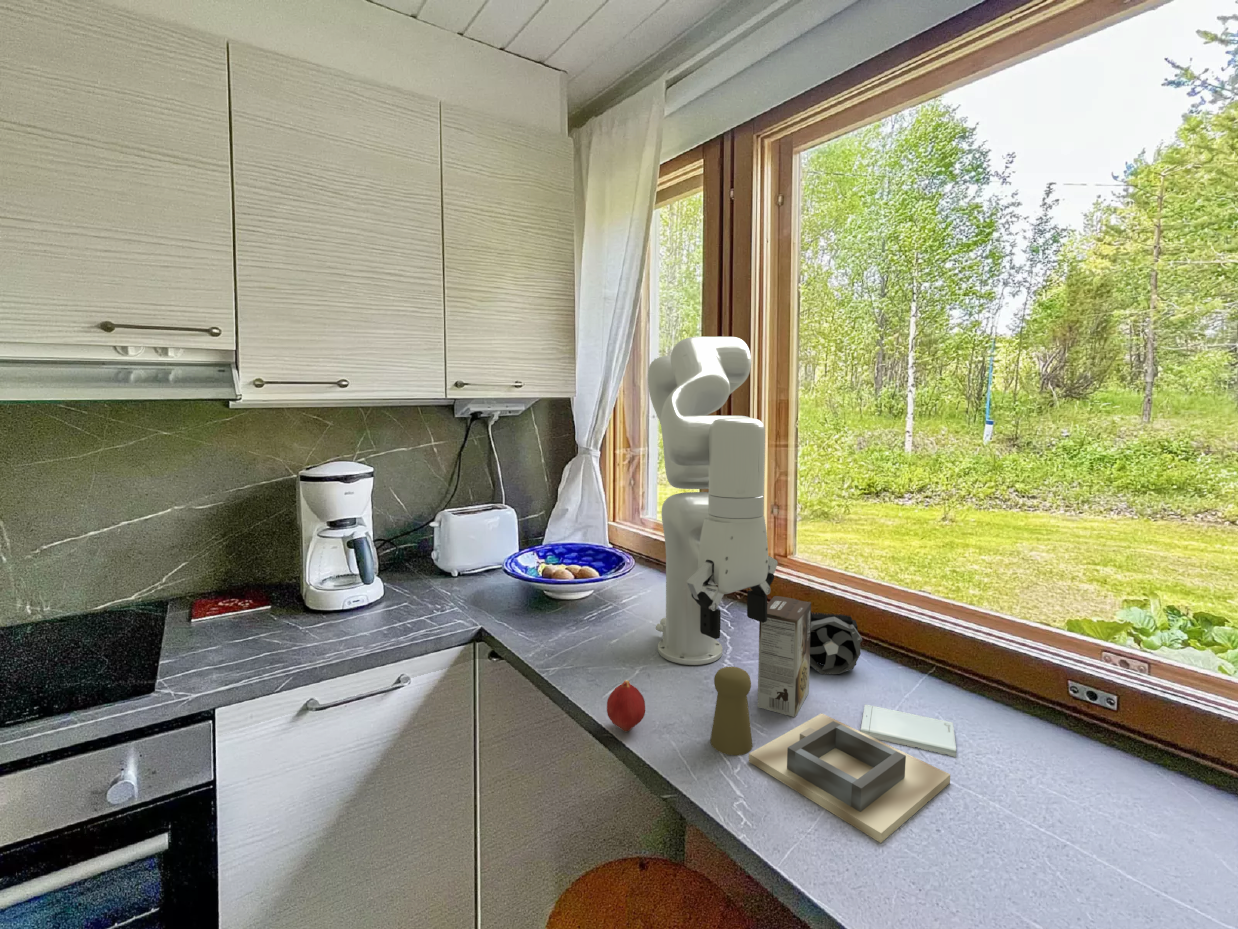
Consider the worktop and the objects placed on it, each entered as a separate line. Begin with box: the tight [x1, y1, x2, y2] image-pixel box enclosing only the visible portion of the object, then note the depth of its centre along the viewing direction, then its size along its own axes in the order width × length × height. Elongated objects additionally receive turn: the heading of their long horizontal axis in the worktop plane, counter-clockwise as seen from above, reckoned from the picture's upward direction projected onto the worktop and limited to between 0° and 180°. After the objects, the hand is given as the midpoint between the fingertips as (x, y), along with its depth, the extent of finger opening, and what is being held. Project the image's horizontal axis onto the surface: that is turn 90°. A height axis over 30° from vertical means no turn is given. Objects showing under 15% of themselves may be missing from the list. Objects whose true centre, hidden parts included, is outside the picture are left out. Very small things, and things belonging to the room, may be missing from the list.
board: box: [748, 713, 951, 844], centre depth 79 cm, size 19×17×4 cm
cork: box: [710, 666, 753, 757], centre depth 86 cm, size 6×6×11 cm
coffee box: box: [757, 595, 812, 718], centre depth 98 cm, size 9×6×16 cm
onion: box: [606, 679, 646, 733], centre depth 89 cm, size 6×6×8 cm
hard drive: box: [859, 704, 957, 758], centre depth 89 cm, size 2×8×12 cm
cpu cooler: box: [809, 611, 863, 675], centre depth 109 cm, size 10×6×10 cm, turn 76°
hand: (734, 627), depth 84 cm, fingers open, 9 cm apart
